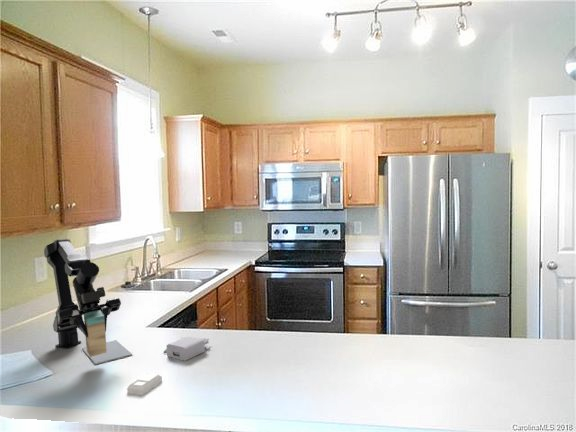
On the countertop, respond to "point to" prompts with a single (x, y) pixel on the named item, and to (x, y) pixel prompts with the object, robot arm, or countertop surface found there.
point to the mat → (110, 353)
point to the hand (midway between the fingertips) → (96, 334)
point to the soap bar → (144, 384)
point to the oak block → (95, 333)
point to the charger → (186, 348)
